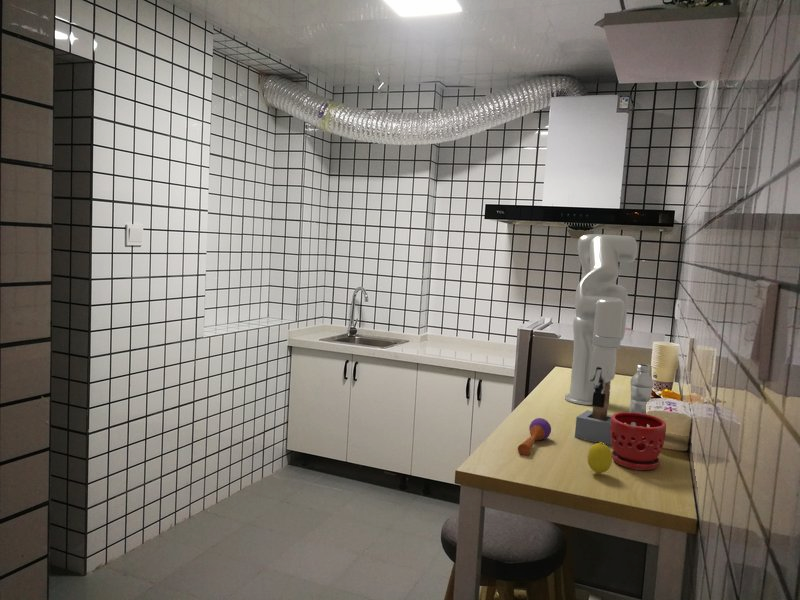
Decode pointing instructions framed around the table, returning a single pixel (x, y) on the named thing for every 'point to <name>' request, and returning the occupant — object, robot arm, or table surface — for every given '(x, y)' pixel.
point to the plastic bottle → (640, 390)
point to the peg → (602, 412)
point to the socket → (593, 428)
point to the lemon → (599, 458)
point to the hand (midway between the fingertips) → (600, 404)
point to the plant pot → (637, 440)
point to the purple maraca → (535, 435)
